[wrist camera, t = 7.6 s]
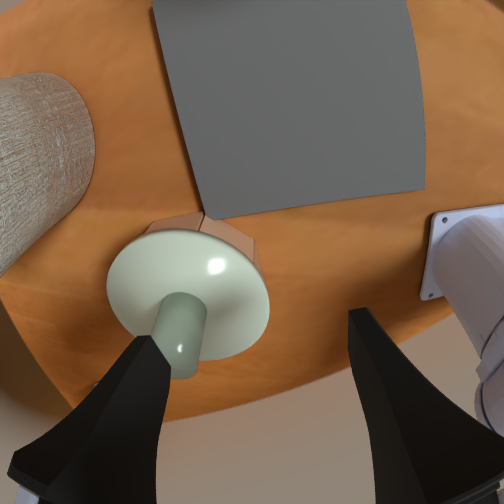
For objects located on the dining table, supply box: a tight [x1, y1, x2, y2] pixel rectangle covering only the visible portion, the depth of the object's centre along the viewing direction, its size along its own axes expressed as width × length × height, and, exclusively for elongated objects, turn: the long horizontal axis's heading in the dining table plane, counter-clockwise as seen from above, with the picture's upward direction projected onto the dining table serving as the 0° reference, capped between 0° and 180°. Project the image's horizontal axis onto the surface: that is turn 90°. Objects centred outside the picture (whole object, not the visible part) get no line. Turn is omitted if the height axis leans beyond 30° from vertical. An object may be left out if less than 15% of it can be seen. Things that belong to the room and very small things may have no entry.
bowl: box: [144, 211, 263, 276], centre depth 19 cm, size 9×9×4 cm
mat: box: [152, 0, 425, 221], centre depth 13 cm, size 14×14×1 cm
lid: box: [107, 228, 269, 379], centre depth 15 cm, size 10×10×5 cm
